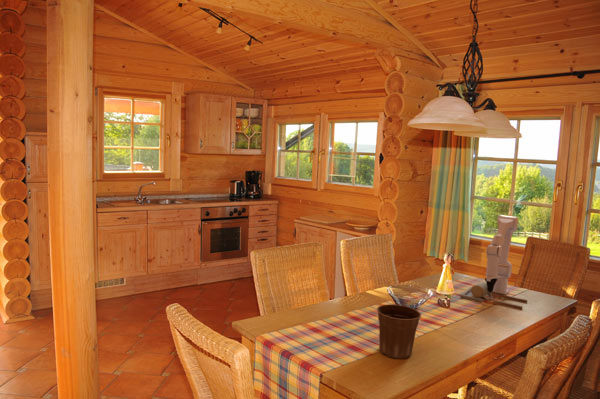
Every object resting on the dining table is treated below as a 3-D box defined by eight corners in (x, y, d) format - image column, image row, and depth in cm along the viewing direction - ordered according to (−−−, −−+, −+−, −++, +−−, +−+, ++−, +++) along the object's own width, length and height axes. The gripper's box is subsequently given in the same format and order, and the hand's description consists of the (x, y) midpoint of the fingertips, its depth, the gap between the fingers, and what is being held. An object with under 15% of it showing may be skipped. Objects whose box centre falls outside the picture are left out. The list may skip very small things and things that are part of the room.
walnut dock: (499, 296, 247) (499, 294, 247) (527, 302, 239) (527, 299, 239) (492, 303, 235) (493, 300, 235) (522, 309, 227) (522, 306, 227)
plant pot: (411, 343, 179) (414, 304, 177) (423, 362, 163) (426, 320, 161) (370, 342, 178) (373, 303, 177) (378, 361, 162) (381, 318, 160)
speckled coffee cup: (469, 296, 245) (470, 282, 244) (475, 293, 251) (476, 280, 250) (488, 301, 238) (490, 287, 237) (494, 298, 244) (496, 284, 243)
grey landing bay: (470, 289, 258) (470, 287, 258) (491, 293, 252) (491, 291, 252) (460, 297, 242) (460, 294, 242) (482, 302, 236) (482, 299, 235)
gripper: (497, 271, 233) (494, 296, 234) (503, 266, 245) (500, 290, 246) (483, 268, 237) (480, 293, 239) (489, 263, 249) (487, 287, 250)
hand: (490, 291), depth 243 cm, fingers closed
